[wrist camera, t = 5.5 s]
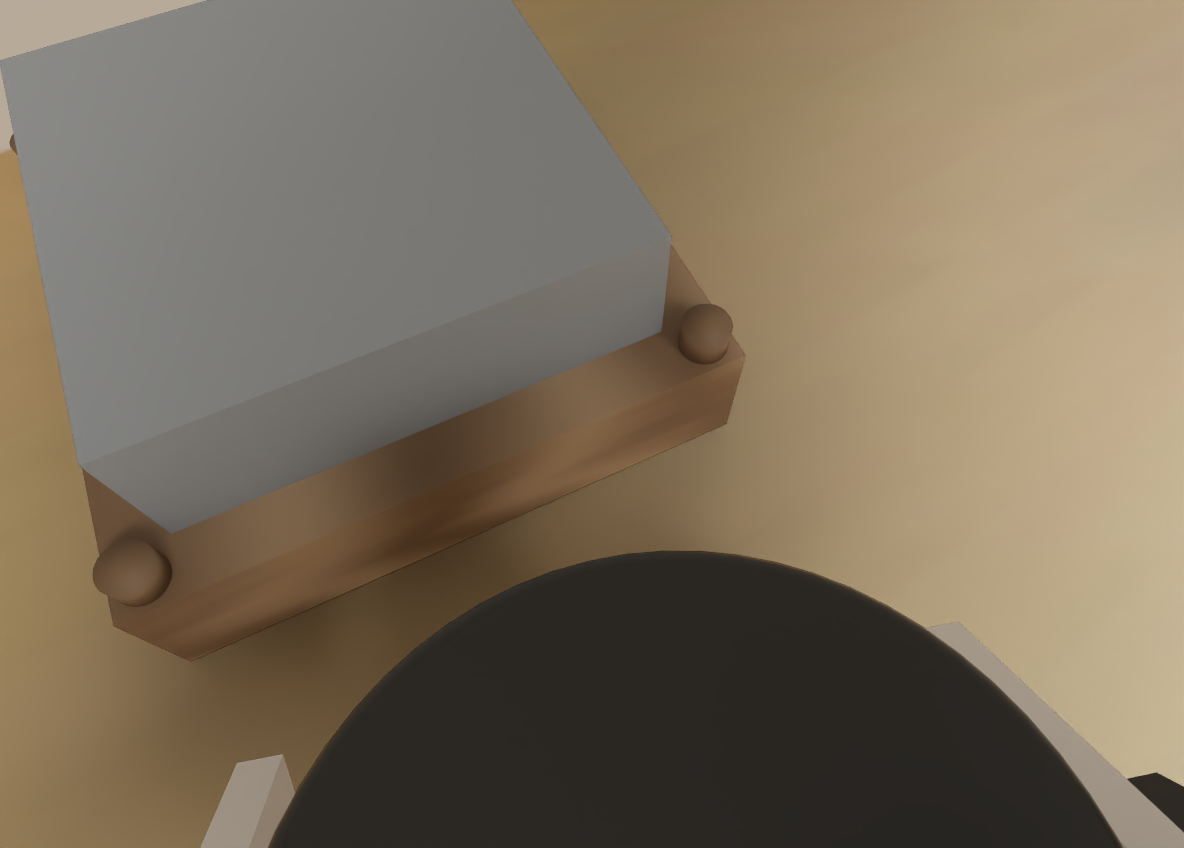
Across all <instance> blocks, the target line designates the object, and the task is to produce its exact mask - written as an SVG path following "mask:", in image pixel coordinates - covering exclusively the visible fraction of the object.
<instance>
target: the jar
mask: <svg viewBox="0 0 1184 848" xmlns="http://www.w3.org/2000/svg"><path fill="white" fill-rule="evenodd" d="M268 848H1123V846H1122V844H1121V842H1120V840H1119V838H1118V837H1117V835H1116V834H1115V832H1114V831H1113V829H1112V827H1111V826H1110V824H1109V823H1108V821H1107V819H1106V818H1105V816H1104V815H1103V813H1102V811H1101V810H1100V808H1099V807H1098V805H1097V804H1096V802H1095V800H1094V799H1093V797H1092V796H1091V794H1090V793H1089V791H1088V790H1087V789H1086V787H1085V786H1084V785H1083V783H1082V782H1081V781H1080V779H1079V778H1078V776H1077V775H1076V774H1075V772H1074V771H1073V770H1072V768H1071V767H1070V766H1069V764H1068V763H1067V762H1066V760H1065V759H1064V758H1063V756H1062V755H1061V754H1060V752H1059V751H1058V750H1057V749H1056V748H1055V746H1054V745H1053V744H1052V743H1051V742H1050V741H1049V740H1048V738H1047V737H1046V736H1045V735H1044V734H1043V733H1042V731H1041V730H1040V729H1039V728H1038V727H1037V726H1036V724H1035V723H1034V722H1033V721H1032V720H1031V719H1030V718H1029V716H1028V715H1027V714H1026V713H1025V712H1024V711H1023V710H1022V709H1021V708H1020V707H1019V706H1018V705H1017V704H1016V703H1015V702H1014V701H1013V700H1012V699H1011V698H1010V697H1009V696H1008V695H1007V694H1006V693H1005V692H1004V691H1002V690H1001V689H1000V688H999V687H998V686H997V685H996V684H995V683H994V682H993V681H992V680H991V679H990V678H989V677H987V676H986V675H985V674H984V673H983V672H981V671H980V670H979V669H978V668H977V667H976V666H974V665H973V664H972V663H971V662H970V661H968V660H967V659H966V658H965V657H964V656H963V655H961V654H960V653H959V652H958V651H956V650H955V649H953V648H952V647H951V646H949V645H948V644H946V643H945V642H944V641H942V640H941V639H939V638H938V637H937V636H935V635H934V634H932V633H931V632H930V631H928V630H927V629H926V628H924V627H923V626H921V625H919V624H918V623H916V622H914V621H913V620H911V619H909V618H908V617H906V616H904V615H903V614H901V613H899V612H898V611H896V610H894V609H893V608H891V607H889V606H888V605H885V604H883V603H881V602H879V601H877V600H875V599H873V598H871V597H869V596H867V595H865V594H863V593H861V592H859V591H857V590H855V589H853V588H851V587H848V586H846V585H843V584H841V583H838V582H835V581H833V580H830V579H828V578H825V577H823V576H820V575H817V574H815V573H812V572H808V571H805V570H801V569H798V568H795V567H791V566H788V565H784V564H781V563H777V562H773V561H768V560H763V559H757V558H752V557H747V556H742V555H736V554H725V553H715V552H705V551H655V552H643V553H632V554H623V555H618V556H612V557H607V558H602V559H596V560H591V561H587V562H583V563H580V564H576V565H573V566H569V567H566V568H562V569H558V570H555V571H552V572H549V573H547V574H544V575H541V576H539V577H536V578H534V579H531V580H529V581H526V582H524V583H521V584H518V585H516V586H514V587H512V588H510V589H508V590H506V591H504V592H502V593H500V594H498V595H496V596H494V597H492V598H490V599H488V600H486V601H484V602H482V603H480V604H479V605H477V606H476V607H474V608H472V609H471V610H469V611H468V612H466V613H464V614H463V615H461V616H460V617H458V618H456V619H455V620H453V621H452V622H450V623H448V624H447V625H446V626H444V627H443V628H442V629H440V630H439V631H438V632H436V633H435V634H434V635H432V636H431V637H430V638H428V639H427V640H426V641H425V642H423V643H422V644H421V645H419V646H418V647H417V648H415V649H414V650H413V651H412V652H411V653H410V654H409V655H408V656H406V657H405V658H404V659H403V660H402V661H401V662H400V663H399V664H398V665H397V666H395V667H394V668H393V669H392V670H391V671H390V672H389V673H388V674H387V675H385V676H384V677H383V678H382V680H381V681H380V682H379V683H378V684H377V685H376V686H375V687H374V688H373V689H372V690H371V691H370V692H369V694H368V695H367V696H366V697H365V698H364V699H363V700H362V701H361V702H360V703H359V704H358V705H357V706H356V708H355V709H354V710H353V711H352V712H351V714H350V715H349V716H348V718H347V719H346V720H345V721H344V723H343V724H342V725H341V726H340V728H339V729H338V730H337V732H336V733H335V734H334V735H333V737H332V738H331V739H330V741H329V742H328V743H327V744H326V746H325V747H324V749H323V750H322V752H321V753H320V755H319V756H318V758H317V760H316V761H315V763H314V764H313V766H312V767H311V769H310V770H309V772H308V773H307V775H306V776H305V778H304V779H303V781H302V782H301V784H300V786H299V787H298V789H297V791H296V793H295V795H294V797H293V798H292V800H291V802H290V804H289V806H288V808H287V810H286V811H285V813H284V815H283V817H282V819H281V821H280V822H279V824H278V826H277V828H276V830H275V832H274V834H273V837H272V839H271V841H270V843H269V846H268Z"/></svg>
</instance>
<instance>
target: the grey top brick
mask: <svg viewBox="0 0 1184 848" xmlns="http://www.w3.org/2000/svg"><path fill="white" fill-rule="evenodd" d="M0 67H1V72H2V77H3V83H4V88H5V92H6V98H7V103H8V108H9V113H10V118H11V123H12V128H13V134H14V139H15V144H16V149H17V154H18V159H19V164H20V169H21V174H22V179H23V185H24V190H25V195H26V200H27V205H28V210H29V215H30V220H31V225H32V230H33V236H34V241H35V246H36V251H37V256H38V261H39V266H40V271H41V276H42V281H43V287H44V292H45V297H46V302H47V307H48V312H49V317H50V322H51V327H52V332H53V338H54V343H55V348H56V353H57V358H58V363H59V368H60V373H61V378H62V384H63V389H64V394H65V399H66V404H67V409H68V414H69V419H70V424H71V429H72V435H73V440H74V445H75V450H76V455H77V460H78V465H79V466H80V467H81V468H82V469H84V470H85V471H86V472H88V473H89V474H91V475H92V476H93V477H95V478H96V479H97V480H99V481H100V482H101V483H103V484H104V485H106V486H107V487H108V488H110V489H111V490H112V491H114V492H115V493H116V494H118V495H119V496H121V497H122V498H123V499H125V500H126V501H127V502H129V503H130V504H131V505H133V506H134V507H136V508H137V509H138V510H140V511H141V512H142V513H144V514H145V515H146V516H148V517H149V518H151V519H152V520H153V521H155V522H156V523H157V524H159V525H160V526H161V527H163V528H164V529H166V530H167V531H168V532H170V533H171V534H172V533H175V532H177V531H179V530H182V529H184V528H187V527H189V526H191V525H194V524H196V523H199V522H201V521H204V520H206V519H208V518H211V517H213V516H216V515H218V514H221V513H223V512H225V511H228V510H230V509H233V508H235V507H238V506H240V505H242V504H245V503H247V502H250V501H252V500H255V499H257V498H259V497H262V496H264V495H267V494H269V493H272V492H274V491H276V490H279V489H281V488H284V487H286V486H289V485H291V484H293V483H296V482H298V481H301V480H303V479H305V478H308V477H310V476H313V475H315V474H318V473H320V472H322V471H325V470H327V469H330V468H332V467H335V466H337V465H339V464H342V463H344V462H347V461H349V460H352V459H354V458H356V457H359V456H361V455H364V454H366V453H369V452H371V451H373V450H376V449H378V448H381V447H383V446H386V445H388V444H390V443H393V442H395V441H398V440H400V439H403V438H405V437H407V436H410V435H412V434H415V433H417V432H419V431H422V430H424V429H427V428H429V427H432V426H434V425H436V424H439V423H441V422H444V421H446V420H449V419H451V418H453V417H456V416H458V415H461V414H463V413H466V412H468V411H470V410H473V409H475V408H478V407H480V406H483V405H485V404H487V403H490V402H492V401H495V400H497V399H500V398H502V397H504V396H507V395H509V394H512V393H514V392H517V391H519V390H521V389H524V388H526V387H529V386H531V385H533V384H536V383H538V382H541V381H543V380H546V379H548V378H550V377H553V376H555V375H558V374H560V373H563V372H565V371H567V370H570V369H572V368H575V367H577V366H580V365H582V364H584V363H587V362H589V361H592V360H594V359H597V358H599V357H601V356H604V355H606V354H609V353H611V352H614V351H616V350H618V349H621V348H623V347H626V346H628V345H631V344H633V343H635V342H638V341H640V340H643V339H645V338H647V337H650V336H652V335H655V334H657V333H660V332H662V322H663V313H664V304H665V295H666V286H667V277H668V267H669V258H670V249H671V240H672V235H671V233H670V232H669V231H668V229H667V228H666V226H665V225H664V223H663V222H662V220H661V219H660V217H659V216H658V214H657V213H656V211H655V210H654V208H653V207H652V206H651V204H650V203H649V201H648V200H647V198H646V197H645V195H644V194H643V192H642V191H641V189H640V188H639V186H638V185H637V183H636V182H635V181H634V179H633V178H632V176H631V175H630V173H629V172H628V170H627V169H626V167H625V166H624V164H623V163H622V161H621V160H620V159H619V157H618V156H617V154H616V153H615V151H614V150H613V148H612V147H611V145H610V144H609V142H608V141H607V139H606V138H605V136H604V135H603V134H602V132H601V131H600V129H599V128H598V126H597V125H596V123H595V122H594V120H593V119H592V117H591V116H590V114H589V113H588V111H587V110H586V109H585V107H584V106H583V104H582V103H581V101H580V100H579V98H578V97H577V95H576V94H575V92H574V91H573V89H572V88H571V86H570V85H569V84H568V82H567V81H566V79H565V78H564V76H563V75H562V73H561V72H560V70H559V69H558V67H557V66H556V64H555V63H554V61H553V60H552V59H551V57H550V56H549V54H548V53H547V51H546V50H545V48H544V47H543V45H542V44H541V42H540V41H539V39H538V38H537V36H536V35H535V34H534V32H533V31H532V29H531V28H530V26H529V25H528V23H527V22H526V20H525V19H524V17H523V16H522V14H521V13H520V11H519V10H518V9H517V7H516V6H515V4H514V3H513V1H512V0H207V1H204V2H200V3H196V4H193V5H190V6H186V7H183V8H179V9H176V10H172V11H169V12H165V13H162V14H158V15H155V16H152V17H148V18H145V19H141V20H138V21H134V22H131V23H127V24H124V25H120V26H117V27H114V28H110V29H107V30H103V31H100V32H96V33H93V34H89V35H86V36H82V37H79V38H76V39H72V40H69V41H65V42H62V43H58V44H55V45H51V46H48V47H44V48H41V49H38V50H34V51H31V52H27V53H24V54H20V55H17V56H13V57H10V58H7V59H3V60H0Z"/></svg>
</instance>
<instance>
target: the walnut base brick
mask: <svg viewBox="0 0 1184 848" xmlns="http://www.w3.org/2000/svg"><path fill="white" fill-rule="evenodd" d="M10 147H11V148H12V149H13V151H14V152H15V153H16V154H17V149H16V144H15V139H14V134H13V135H12V137H11V139H10ZM17 155H18V154H17ZM732 329H733V324H732V320H731V317H730V316H729V314H728V313H727V312H726V311H725V310H724V309H722V308H720V307H718V306H716V305H713V304H711V303H710V302H709V300H708V299H707V297H706V296H705V294H704V293H703V291H702V290H701V288H700V287H699V285H698V284H697V282H696V281H695V279H694V278H693V276H692V275H691V273H690V272H689V271H688V269H687V268H686V266H685V265H684V263H683V262H682V260H681V259H680V257H679V256H678V254H677V253H676V251H675V250H674V248H673V247H672V245H671V249H670V258H669V267H668V277H667V286H666V295H665V304H664V313H663V322H662V332H660V333H657V334H655V335H652V336H650V337H647V338H645V339H643V340H640V341H638V342H635V343H633V344H631V345H628V346H626V347H623V348H621V349H618V350H616V351H614V352H611V353H609V354H606V355H604V356H601V357H599V358H597V359H594V360H592V361H589V362H587V363H584V364H582V365H580V366H577V367H575V368H572V369H570V370H567V371H565V372H563V373H560V374H558V375H555V376H553V377H550V378H548V379H546V380H543V381H541V382H538V383H536V384H533V385H531V386H529V387H526V388H524V389H521V390H519V391H517V392H514V393H512V394H509V395H507V396H504V397H502V398H500V399H497V400H495V401H492V402H490V403H487V404H485V405H483V406H480V407H478V408H475V409H473V410H470V411H468V412H466V413H463V414H461V415H458V416H456V417H453V418H451V419H449V420H446V421H444V422H441V423H439V424H436V425H434V426H432V427H429V428H427V429H424V430H422V431H419V432H417V433H415V434H412V435H410V436H407V437H405V438H403V439H400V440H398V441H395V442H393V443H390V444H388V445H386V446H383V447H381V448H378V449H376V450H373V451H371V452H369V453H366V454H364V455H361V456H359V457H356V458H354V459H352V460H349V461H347V462H344V463H342V464H339V465H337V466H335V467H332V468H330V469H327V470H325V471H322V472H320V473H318V474H315V475H313V476H310V477H308V478H305V479H303V480H301V481H298V482H296V483H293V484H291V485H289V486H286V487H284V488H281V489H279V490H276V491H274V492H272V493H269V494H267V495H264V496H262V497H259V498H257V499H255V500H252V501H250V502H247V503H245V504H242V505H240V506H238V507H235V508H233V509H230V510H228V511H225V512H223V513H221V514H218V515H216V516H213V517H211V518H208V519H206V520H204V521H201V522H199V523H196V524H194V525H191V526H189V527H187V528H184V529H182V530H179V531H177V532H175V533H172V534H171V533H170V532H168V531H167V530H166V529H164V528H163V527H161V526H160V525H159V524H157V523H156V522H155V521H153V520H152V519H151V518H149V517H148V516H146V515H145V514H144V513H142V512H141V511H140V510H138V509H137V508H136V507H134V506H133V505H131V504H130V503H129V502H127V501H126V500H125V499H123V498H122V497H121V496H119V495H118V494H116V493H115V492H114V491H112V490H111V489H110V488H108V487H107V486H106V485H104V484H103V483H101V482H100V481H99V480H97V479H96V478H95V477H93V476H92V475H91V474H89V473H88V472H86V471H85V470H84V469H83V475H84V480H85V485H86V490H87V495H88V500H89V505H90V510H91V515H92V520H93V525H94V530H95V535H96V540H97V545H98V550H99V555H100V556H99V557H98V559H97V561H96V563H95V565H94V569H93V581H94V584H95V586H96V587H97V589H98V590H99V591H100V592H102V593H104V594H106V595H107V596H108V601H109V606H110V611H111V616H112V621H113V626H114V627H116V628H119V629H121V630H123V631H125V632H127V633H129V634H132V635H134V636H136V637H138V638H140V639H143V640H145V641H147V642H149V643H151V644H153V645H156V646H158V647H160V648H162V649H164V650H166V651H169V652H171V653H173V654H175V655H177V656H180V657H182V658H184V659H186V660H188V661H190V662H191V661H193V660H195V659H197V658H200V657H202V656H204V655H206V654H209V653H211V652H213V651H216V650H218V649H220V648H222V647H225V646H227V645H229V644H231V643H234V642H236V641H238V640H240V639H243V638H245V637H247V636H249V635H252V634H254V633H256V632H258V631H261V630H263V629H265V628H267V627H270V626H272V625H274V624H276V623H279V622H281V621H283V620H285V619H288V618H290V617H292V616H294V615H297V614H299V613H301V612H303V611H306V610H308V609H310V608H312V607H315V606H317V605H319V604H321V603H324V602H326V601H328V600H330V599H333V598H335V597H337V596H339V595H342V594H344V593H346V592H348V591H351V590H353V589H355V588H357V587H360V586H362V585H364V584H366V583H369V582H371V581H373V580H375V579H378V578H380V577H382V576H384V575H387V574H389V573H391V572H393V571H396V570H398V569H400V568H402V567H405V566H407V565H409V564H411V563H414V562H416V561H418V560H420V559H423V558H425V557H427V556H429V555H432V554H434V553H436V552H438V551H441V550H443V549H445V548H447V547H450V546H452V545H454V544H456V543H459V542H461V541H463V540H465V539H468V538H470V537H472V536H474V535H477V534H479V533H481V532H483V531H486V530H488V529H490V528H492V527H495V526H497V525H499V524H501V523H504V522H506V521H508V520H510V519H513V518H515V517H517V516H519V515H522V514H524V513H526V512H528V511H531V510H533V509H535V508H537V507H540V506H542V505H544V504H546V503H549V502H551V501H553V500H555V499H558V498H560V497H562V496H564V495H567V494H569V493H571V492H573V491H576V490H578V489H580V488H582V487H585V486H587V485H589V484H591V483H594V482H596V481H598V480H600V479H603V478H605V477H607V476H609V475H612V474H614V473H616V472H618V471H621V470H623V469H625V468H627V467H630V466H632V465H634V464H636V463H639V462H641V461H643V460H645V459H648V458H650V457H652V456H654V455H657V454H659V453H661V452H663V451H666V450H668V449H670V448H672V447H675V446H677V445H679V444H681V443H684V442H686V441H688V440H690V439H693V438H695V437H697V436H699V435H702V434H704V433H706V432H708V431H711V430H713V429H715V428H717V427H720V426H722V425H724V424H726V423H727V420H728V416H729V413H730V409H731V406H732V402H733V399H734V395H735V392H736V388H737V385H738V381H739V378H740V374H741V371H742V367H743V364H744V360H745V357H746V355H745V354H744V352H743V351H742V349H741V348H740V346H739V345H738V343H737V342H736V340H735V339H734V337H733V336H732V334H731V333H732Z"/></svg>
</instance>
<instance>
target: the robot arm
mask: <svg viewBox="0 0 1184 848" xmlns="http://www.w3.org/2000/svg"><path fill="white" fill-rule="evenodd" d="M926 629H927V630H928V631H930V632H931V633H932V634H934V635H935V636H937V637H938V638H939V639H941V640H942V641H944V642H945V643H946V644H948V645H949V646H951V647H952V648H953V649H955V650H956V651H958V652H959V653H960V654H961V655H963V656H964V657H965V658H966V659H967V660H968V661H970V662H971V663H972V664H973V665H974V666H976V667H977V668H978V669H979V670H980V671H981V672H983V673H984V674H985V675H986V676H987V677H989V678H990V679H991V680H992V681H993V682H994V683H995V684H996V685H997V686H998V687H999V688H1000V689H1001V690H1002V691H1004V692H1005V693H1006V694H1007V695H1008V696H1009V697H1010V698H1011V699H1012V700H1013V701H1014V702H1015V703H1016V704H1017V705H1018V706H1019V707H1020V708H1021V709H1022V710H1023V711H1024V712H1025V713H1026V714H1027V715H1028V716H1029V718H1030V719H1031V720H1032V721H1033V722H1034V723H1035V724H1036V726H1037V727H1038V728H1039V729H1040V730H1041V731H1042V733H1043V734H1044V735H1045V736H1046V737H1047V738H1048V740H1049V741H1050V742H1051V743H1052V744H1053V745H1054V746H1055V748H1056V749H1057V750H1058V751H1059V752H1060V754H1061V755H1062V756H1063V758H1064V759H1065V760H1066V762H1067V763H1068V764H1069V766H1070V767H1071V768H1072V770H1073V771H1074V772H1075V774H1076V775H1077V776H1078V778H1079V779H1080V781H1081V782H1082V783H1083V785H1084V786H1085V787H1086V789H1087V790H1088V791H1089V793H1090V794H1091V796H1092V797H1093V799H1094V800H1095V802H1096V804H1097V805H1098V807H1099V808H1100V810H1101V811H1102V813H1103V815H1104V816H1105V818H1106V819H1107V821H1108V823H1109V824H1110V826H1111V827H1112V829H1113V831H1114V832H1115V834H1116V835H1117V837H1118V838H1119V840H1120V842H1121V844H1122V846H1123V848H1184V787H1183V786H1181V785H1179V784H1177V783H1175V782H1174V781H1172V780H1170V779H1168V778H1166V777H1164V776H1162V775H1160V774H1158V773H1152V774H1148V775H1143V776H1138V777H1134V778H1129V779H1126V778H1125V777H1124V776H1123V775H1122V774H1121V773H1120V772H1119V771H1118V770H1117V769H1115V768H1114V767H1113V766H1112V765H1111V764H1110V763H1109V762H1108V761H1107V760H1106V759H1105V758H1104V757H1103V756H1102V755H1101V754H1099V753H1098V752H1097V751H1096V750H1095V749H1094V748H1093V747H1092V746H1091V745H1090V744H1089V743H1088V742H1087V741H1086V740H1084V739H1083V738H1082V737H1081V736H1080V735H1079V734H1078V733H1077V732H1076V731H1075V730H1074V729H1073V728H1072V727H1071V726H1070V725H1068V724H1067V723H1066V722H1065V721H1064V720H1063V719H1062V718H1061V717H1060V716H1059V715H1058V714H1057V713H1056V712H1055V711H1054V710H1052V709H1051V708H1050V707H1049V706H1048V705H1047V704H1046V703H1045V702H1044V701H1043V700H1042V699H1041V698H1040V697H1039V696H1038V695H1036V694H1035V693H1034V692H1033V691H1032V690H1031V689H1030V688H1029V687H1028V686H1027V685H1026V684H1025V683H1024V682H1023V681H1021V680H1020V679H1019V678H1018V677H1017V676H1016V675H1015V674H1014V673H1013V672H1012V671H1011V670H1010V669H1009V668H1008V667H1007V666H1005V665H1004V664H1003V663H1002V662H1001V661H1000V660H999V659H998V658H997V657H996V656H995V655H994V654H993V653H992V652H991V651H989V650H988V649H987V648H986V647H985V646H984V645H983V644H982V643H981V642H980V641H979V640H978V639H977V638H976V637H975V636H973V635H972V634H971V633H970V632H969V631H968V630H967V629H966V628H965V627H964V626H963V625H962V624H961V623H960V622H954V623H949V624H944V625H939V626H933V627H928V628H926ZM294 795H295V791H294V788H293V785H292V782H291V778H290V775H289V772H288V769H287V765H286V762H285V759H284V756H283V754H280V755H275V756H270V757H265V758H260V759H255V760H250V761H245V762H240V763H237V764H236V766H235V769H234V771H233V773H232V776H231V778H230V780H229V783H228V785H227V787H226V789H225V792H224V794H223V796H222V799H221V801H220V803H219V805H218V808H217V810H216V812H215V815H214V817H213V819H212V821H211V824H210V826H209V828H208V831H207V833H206V835H205V838H204V840H203V842H202V844H201V847H200V848H268V846H269V843H270V841H271V839H272V837H273V834H274V832H275V830H276V828H277V826H278V824H279V822H280V821H281V819H282V817H283V815H284V813H285V811H286V810H287V808H288V806H289V804H290V802H291V800H292V798H293V797H294Z"/></svg>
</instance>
